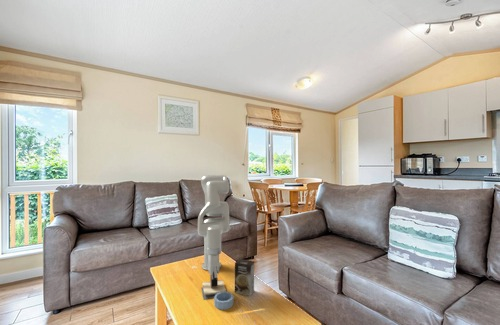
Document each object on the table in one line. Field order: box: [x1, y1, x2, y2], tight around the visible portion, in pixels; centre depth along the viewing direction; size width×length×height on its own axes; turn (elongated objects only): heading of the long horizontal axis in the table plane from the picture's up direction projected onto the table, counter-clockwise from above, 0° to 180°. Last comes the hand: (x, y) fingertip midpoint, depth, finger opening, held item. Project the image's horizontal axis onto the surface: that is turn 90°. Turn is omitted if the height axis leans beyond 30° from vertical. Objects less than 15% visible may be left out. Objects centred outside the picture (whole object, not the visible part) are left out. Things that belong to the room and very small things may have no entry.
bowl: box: [213, 291, 234, 311], centre depth 114 cm, size 9×9×4 cm
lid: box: [201, 274, 227, 295], centre depth 125 cm, size 11×11×7 cm
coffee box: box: [234, 258, 255, 296], centre depth 125 cm, size 9×6×16 cm
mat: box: [201, 286, 216, 301], centre depth 124 cm, size 12×12×1 cm
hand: (213, 283), depth 125 cm, fingers closed on lid, 3 cm apart
